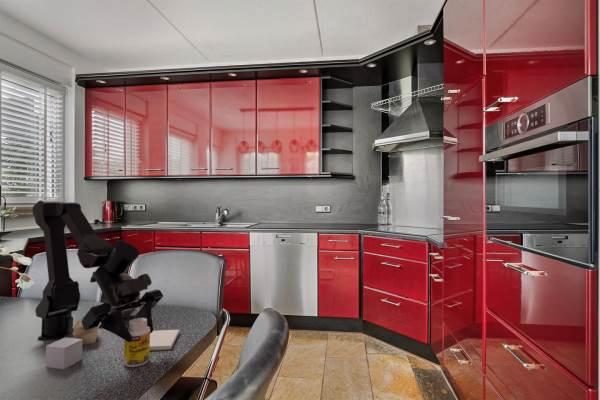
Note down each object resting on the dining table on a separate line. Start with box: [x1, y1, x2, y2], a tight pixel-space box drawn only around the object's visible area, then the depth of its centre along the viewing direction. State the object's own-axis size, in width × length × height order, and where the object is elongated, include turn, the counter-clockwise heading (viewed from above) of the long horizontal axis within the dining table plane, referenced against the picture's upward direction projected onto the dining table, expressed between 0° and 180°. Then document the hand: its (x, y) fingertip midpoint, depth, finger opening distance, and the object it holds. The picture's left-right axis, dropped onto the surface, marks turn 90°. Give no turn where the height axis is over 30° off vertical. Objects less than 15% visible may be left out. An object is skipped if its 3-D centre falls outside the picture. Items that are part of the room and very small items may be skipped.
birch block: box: [72, 320, 99, 345], centre depth 91 cm, size 5×5×5 cm
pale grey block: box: [45, 336, 83, 370], centre depth 78 cm, size 5×5×5 cm
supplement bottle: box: [123, 317, 150, 368], centre depth 79 cm, size 6×6×10 cm
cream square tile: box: [149, 329, 180, 351], centre depth 91 cm, size 11×11×1 cm
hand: (141, 336), depth 79 cm, fingers closed on supplement bottle, 5 cm apart
